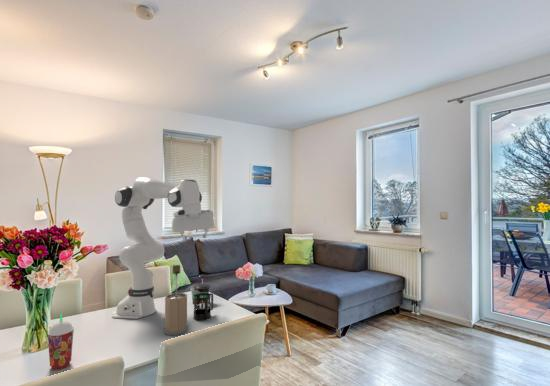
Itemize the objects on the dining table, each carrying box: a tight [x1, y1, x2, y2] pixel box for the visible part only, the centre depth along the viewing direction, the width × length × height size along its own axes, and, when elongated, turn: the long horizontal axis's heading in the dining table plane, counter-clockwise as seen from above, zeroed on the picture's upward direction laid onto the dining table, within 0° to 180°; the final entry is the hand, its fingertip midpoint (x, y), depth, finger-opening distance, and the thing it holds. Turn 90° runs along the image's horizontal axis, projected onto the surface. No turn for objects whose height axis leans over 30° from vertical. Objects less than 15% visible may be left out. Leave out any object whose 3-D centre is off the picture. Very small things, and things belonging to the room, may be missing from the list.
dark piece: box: [189, 286, 210, 305], centre depth 188 cm, size 12×6×10 cm, turn 88°
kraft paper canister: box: [163, 292, 189, 337], centre depth 151 cm, size 11×13×17 cm
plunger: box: [169, 264, 184, 299], centre depth 150 cm, size 7×7×16 cm
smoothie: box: [47, 313, 75, 370], centre depth 119 cm, size 8×8×20 cm
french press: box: [192, 274, 214, 322], centre depth 167 cm, size 12×9×23 cm
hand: (195, 239), depth 150 cm, fingers open, 8 cm apart
